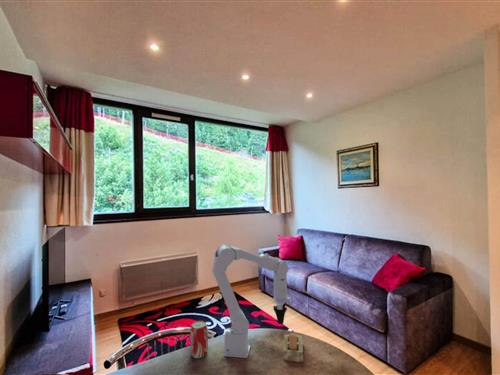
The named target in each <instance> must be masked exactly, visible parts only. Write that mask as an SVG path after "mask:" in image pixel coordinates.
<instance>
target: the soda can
mask: <svg viewBox="0 0 500 375" xmlns="http://www.w3.org/2000/svg"><path fill="white" fill-rule="evenodd" d="M208 330H209V329H208V326H207V322H206V321H203V320H197V321H195V322H193V323H192V324H191V328H190V330H189V332H190V335H189V338H190V339H189V342H190V343H189V344H190V345H189V350H190V356H191V357H192V358H195V359H201V358H204V357H205V356H206V355H207V354H208V350H209V341H208V340H209V334H208Z"/></svg>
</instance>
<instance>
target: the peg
mask: <svg viewBox="0 0 500 375" xmlns="http://www.w3.org/2000/svg"><path fill="white" fill-rule="evenodd" d="M288 335H289V350H296V351H297V336H296V335H297V334H296V333H294V332H293V333H289V334H288Z"/></svg>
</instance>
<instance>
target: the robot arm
mask: <svg viewBox="0 0 500 375" xmlns="http://www.w3.org/2000/svg"><path fill="white" fill-rule="evenodd" d="M240 259H243V260H246V261H250V262H254V263H257V266H258V268H262V269H264V270H268V271H271V272H273V301H274V302H275V304H276V305H273V311H274V313H275V316H276V321H277V324H278V325H284V321H285V315H286V312H287V309H288V307H286V303H287V302H289V301H290V299H291V298H290V297H289V296H288V288H287V287H288V281H287V274H288V272H289V270H290V267H289V266H288V263H287V262H285V261H284V260H282V259H281V258H279V257H277V256H271V255H270V254H269V253H261V254H255V253H253V252H251V251H248V250H246V249H243V248H240V247H239V246H238V247H236V246H233V245H228V244H220V245H219V246H218V247H217V248H216V250H215V251H214V259H213V264H212V273H213V276H214V278H215V281H216V282H217V285H218V289H219V290H220V292H221V296H222V297H223V299H224V302H225V305H226V307H227V309H228V312H229V320H230V323H231V326H230V327H229V328H228V327H227V328H226V329H225V333H224V355H223V356H224V357H231V358H242V359H243V358H244V359H248V356H249V353H250V349H251V345H250V344H249V328H250V323H249V320H248V319H247V317H246V315H245V314H244V312H243V310H242V309H241V307H240V305H239V302H238V300H237V298H236V295H235V292H234V290H233V288H232V286H231V283H230V281H229V278H228V276H227V273H226V271H227V270H228V267H229V266H230V265H231V264H232V263H233V262H234V260H235V261H236V262H237V261H239V260H240Z"/></svg>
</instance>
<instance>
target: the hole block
mask: <svg viewBox="0 0 500 375" xmlns="http://www.w3.org/2000/svg"><path fill="white" fill-rule="evenodd" d="M283 336H284V337H283V361H287V362H300V363H301V362H302V363H304V349H303V348H304V346H303V345H304V344H303V335H300V334H299V335H298V334H296V336H297V351H296V350H289V334H284V335H283Z"/></svg>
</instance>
